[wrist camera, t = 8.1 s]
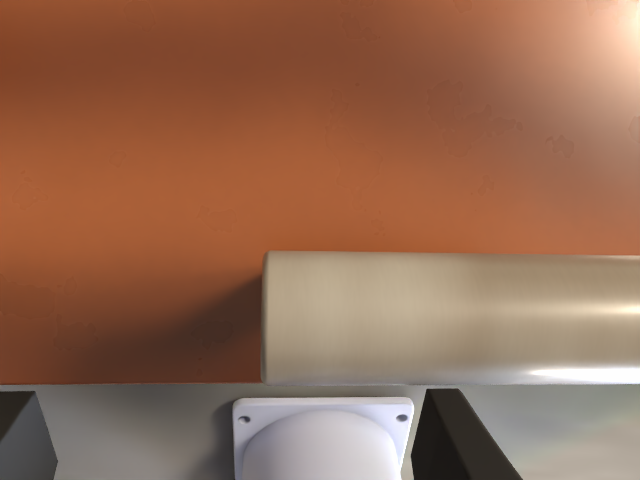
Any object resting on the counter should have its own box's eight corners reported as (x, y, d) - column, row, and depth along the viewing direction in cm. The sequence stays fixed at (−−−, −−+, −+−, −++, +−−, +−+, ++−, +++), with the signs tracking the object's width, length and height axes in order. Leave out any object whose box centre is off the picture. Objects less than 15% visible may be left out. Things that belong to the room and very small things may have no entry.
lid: (766, 373, 12) (1108, 479, 7) (-27, 375, 10) (-282, 508, 6) (789, -143, 11) (1166, -407, 7) (-28, -206, 10) (-300, -593, 5)
